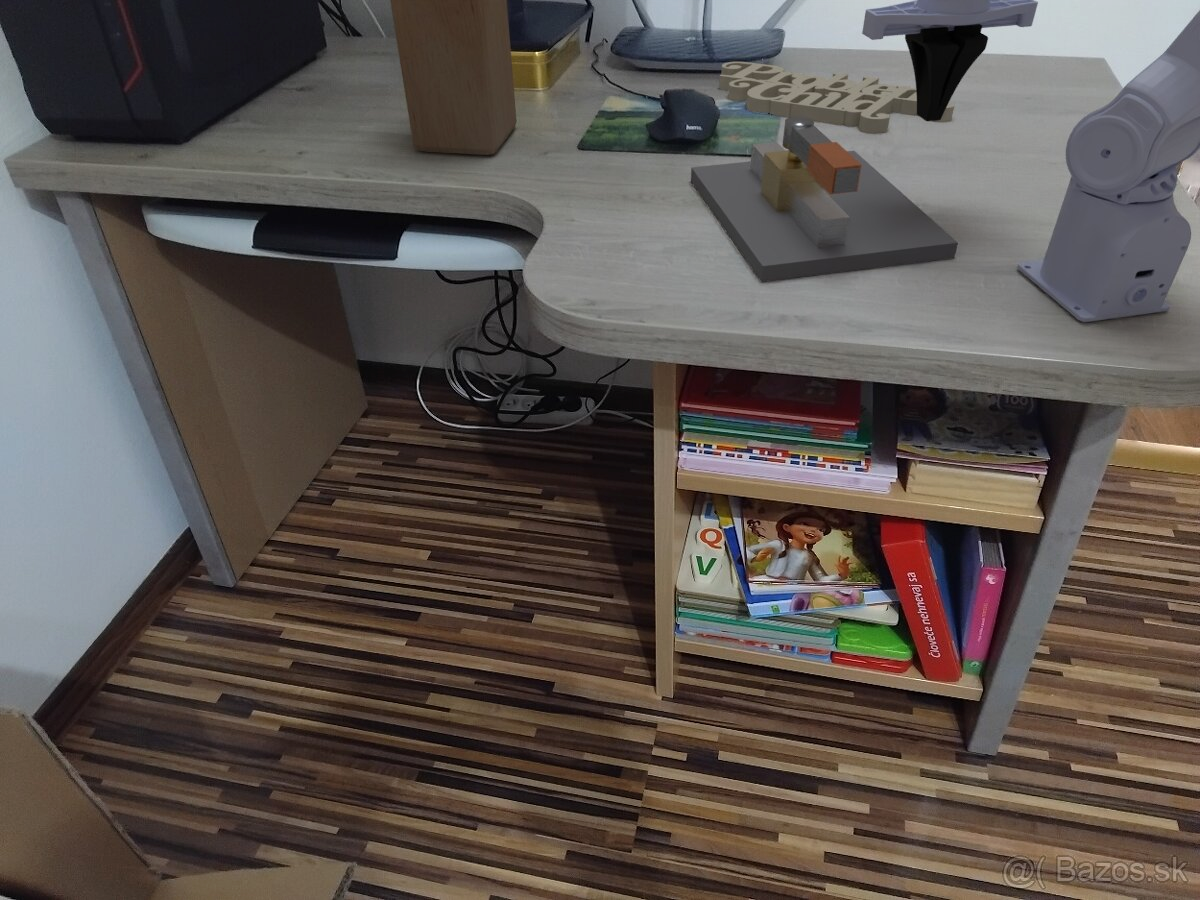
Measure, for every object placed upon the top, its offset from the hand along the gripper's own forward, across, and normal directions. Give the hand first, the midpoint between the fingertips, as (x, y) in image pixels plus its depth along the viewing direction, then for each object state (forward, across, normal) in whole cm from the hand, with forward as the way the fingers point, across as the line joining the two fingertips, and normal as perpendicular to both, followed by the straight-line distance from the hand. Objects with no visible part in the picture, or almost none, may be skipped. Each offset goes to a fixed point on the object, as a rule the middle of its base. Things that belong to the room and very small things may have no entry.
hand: (928, 117), depth 79 cm
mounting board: (+9, +9, -2) cm, 13 cm away
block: (+10, +40, -31) cm, 52 cm away
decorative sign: (+10, -4, -32) cm, 34 cm away
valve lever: (+3, +11, +2) cm, 11 cm away
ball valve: (+8, +11, -2) cm, 14 cm away
